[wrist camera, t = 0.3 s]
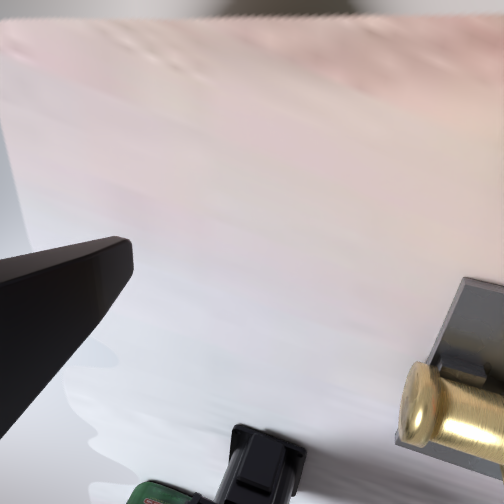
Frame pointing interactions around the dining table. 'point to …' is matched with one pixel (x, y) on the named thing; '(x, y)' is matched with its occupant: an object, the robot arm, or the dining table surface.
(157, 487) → the coffee jar
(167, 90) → the dining table surface
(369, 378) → the dining table surface
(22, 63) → the dining table surface
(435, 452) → the valve body
